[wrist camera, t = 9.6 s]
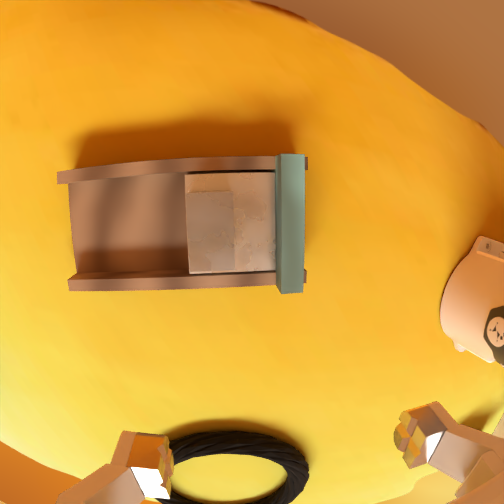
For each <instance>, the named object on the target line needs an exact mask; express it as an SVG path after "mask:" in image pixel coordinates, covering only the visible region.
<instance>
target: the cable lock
mask: <svg viewBox="0 0 504 504" xmlns="http://www.w3.org/2000/svg"><path fill="white" fill-rule="evenodd" d="M169 449H171V450H172V453H173V458H174V465H176V464H178V463H180V462H183V461H185V460H188V459H190V458H193V457H200V456H206V455H214V454H241V455H252V456H257V457H262V458H266V459H269V460H271V461H274V462H276V463H278V464H280V465H282V466H283V467H284V469H285V470H286V471H287V474H288V477H287V480H286V482H285V484H284V485H283V486H282V487H281V488H280V489H279V490H277V491H276V492H275V493H274V494H272V495H270V496H269V497H266V498H263V499H261V500H259V501H257V502H254V503H247V504H289V503H291V502H292V501H293V500H294V499H295V498H296V497H297V496H298V495H299V494H300V493H301V492H302V491H303V489H304V487H305V485H306V482H307V481H308V478H309V473H308V472H309V467H308V463H307V462H306V461H305V458H304V456H303V455H302V454H301V453H300V452H299V451H298V450H296V449H295V448H294V447H293V446H291V445H289V444H287V443H285V442H282V441H279V440H277V439H275V438H273V437H271V436H267V435H262V434H258V433H247V432H241V431H230V432H212V433H197V434H193V435H189V436H186V437H184V438H181V439H178V440H174V441H170V442H169ZM155 499H156V500H158V501H159V502H161V503H162V504H202V503H197V502H192V501H189V500H187V499H185V498H183V497H181V496H179V495H177V494H176V493H174V492H173V491H172V490H171V492H170V499H165V498H155Z"/></svg>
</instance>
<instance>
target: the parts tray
mask: <svg viewBox="0 0 504 504" xmlns="http://www.w3.org/2000/svg"><path fill="white" fill-rule="evenodd" d="M492 435H494V436H497V437H500V438H503V439H504V414H503V416H502V417H501V419H500V421H499V423H498V425H497V427H496V429H495V430H494V432H493V434H492Z"/></svg>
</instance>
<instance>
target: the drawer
mask: <svg viewBox="0 0 504 504" xmlns="http://www.w3.org/2000/svg"><path fill="white" fill-rule="evenodd" d="M305 170H308V157H305V154H279V155H277V156H227V157H199V158H180V159H165V160H152V161H140V162H130V163H120V164H111V165H102V166H94V167H87V168H80V169H73V170H66V171H60V172H57V184H68V188H69V206H70V219H71V230H72V239H73V248H74V255H75V263H76V269H77V273H76V274H75V275H73V276H72V277H71V278H69V279H68V286H69V291H129V290H170V289H199V288H223V287H245V286H264V285H276V286H277V288H278V289H279V291H280V293H281V294H288V293H302V292H303V283H306V274H307V271H306V270H305V269H304V243H305ZM216 173H275V216H276V270H266V271H246V272H223V273H199V274H190V273H189V258H188V242H187V223H186V200H185V175H193V174H216Z"/></svg>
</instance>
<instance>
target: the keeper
mask: <svg viewBox="0 0 504 504" xmlns="http://www.w3.org/2000/svg"><path fill="white" fill-rule="evenodd" d="M185 200H186V223H187V242H188V258H189V273H190V274H199V273H223V272H246V271H266V270H276V216H275V173H216V174H193V175H185Z"/></svg>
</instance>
